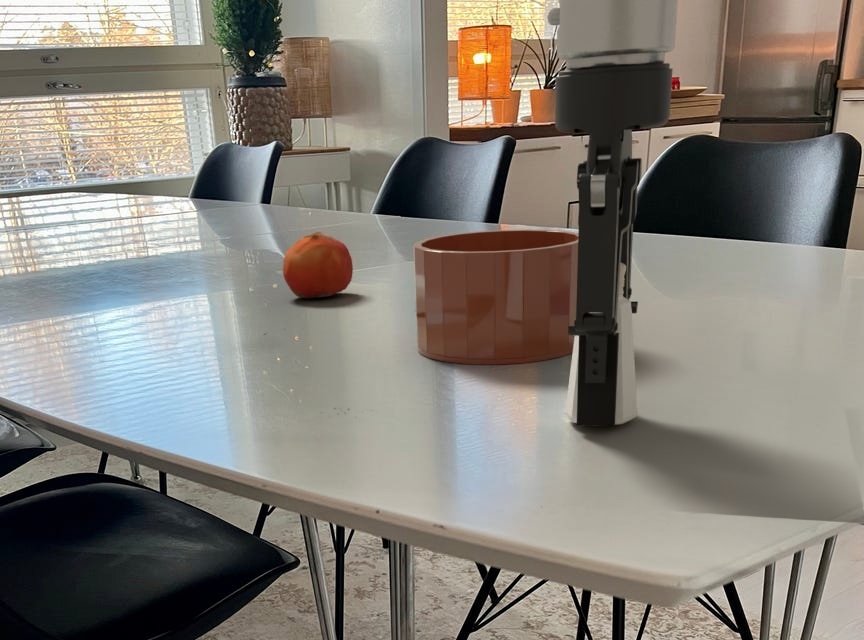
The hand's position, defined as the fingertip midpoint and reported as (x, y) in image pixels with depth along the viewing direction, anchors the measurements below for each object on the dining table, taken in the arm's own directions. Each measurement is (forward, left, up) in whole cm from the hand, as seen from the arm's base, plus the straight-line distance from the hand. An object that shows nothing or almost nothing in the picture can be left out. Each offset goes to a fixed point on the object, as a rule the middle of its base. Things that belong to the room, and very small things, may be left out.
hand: (600, 412), depth 77 cm
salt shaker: (0, 0, -1) cm, 1 cm away
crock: (+13, -26, -1) cm, 29 cm away
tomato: (+43, -54, -1) cm, 69 cm away
